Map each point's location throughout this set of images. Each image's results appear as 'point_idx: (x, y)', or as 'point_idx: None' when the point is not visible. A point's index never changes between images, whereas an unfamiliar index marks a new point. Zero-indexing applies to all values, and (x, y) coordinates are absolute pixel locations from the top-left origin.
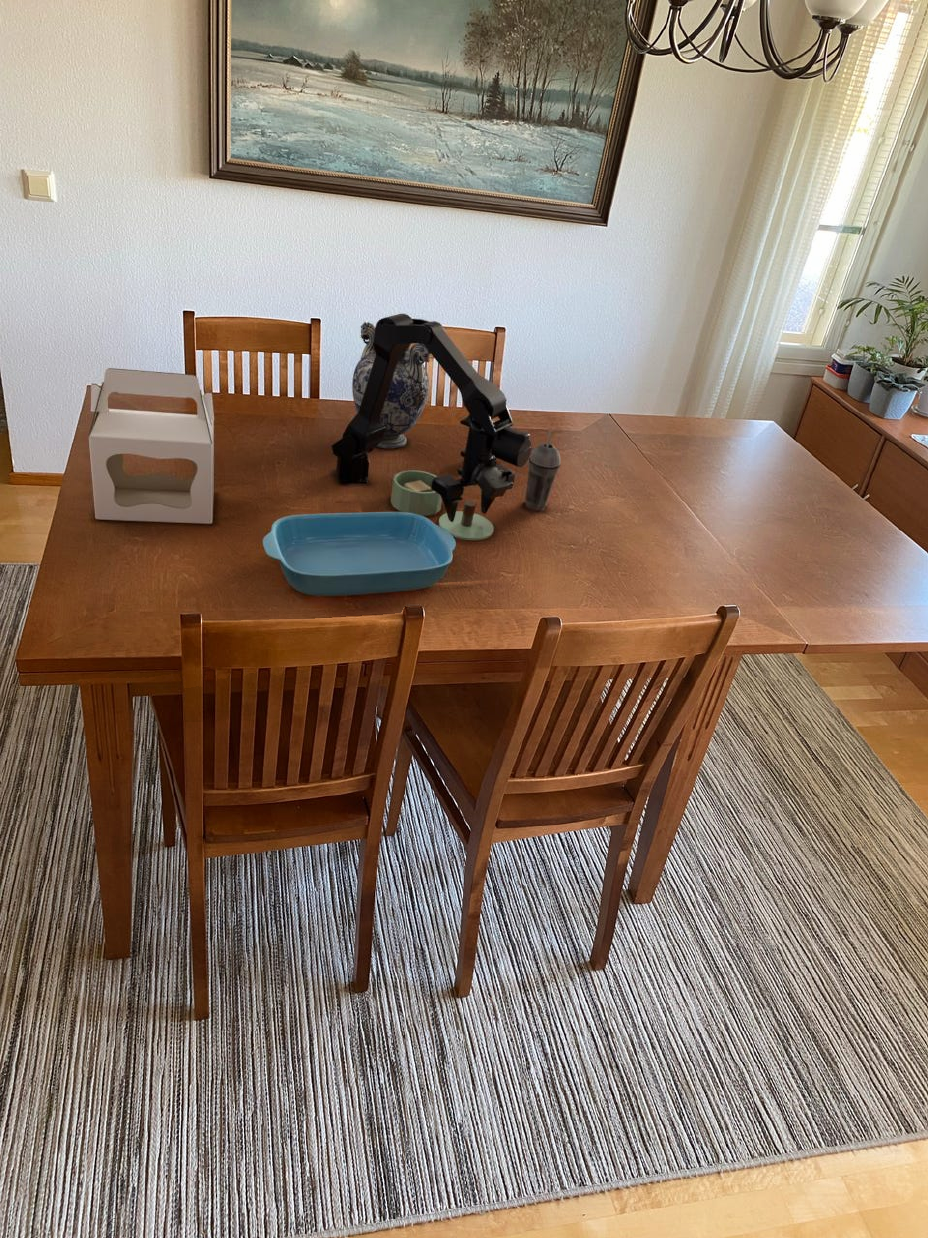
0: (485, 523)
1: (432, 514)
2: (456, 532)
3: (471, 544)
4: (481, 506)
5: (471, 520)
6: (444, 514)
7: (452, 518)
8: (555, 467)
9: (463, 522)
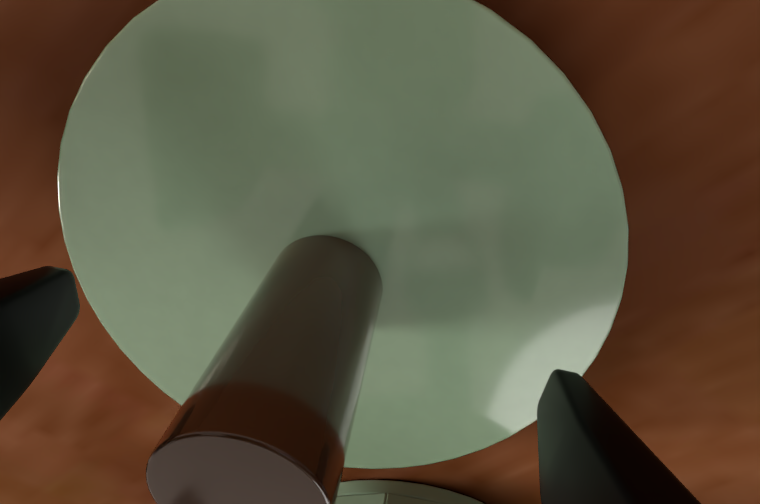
0: (128, 183)
1: (419, 498)
2: (563, 243)
3: (549, 9)
4: (35, 367)
5: (308, 271)
6: (372, 463)
7: (613, 411)
8: None
9: (378, 307)
